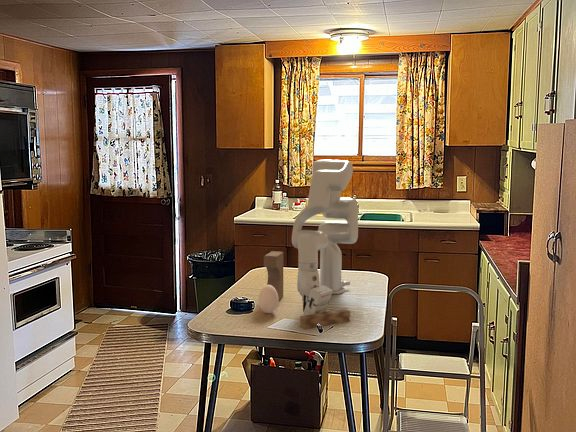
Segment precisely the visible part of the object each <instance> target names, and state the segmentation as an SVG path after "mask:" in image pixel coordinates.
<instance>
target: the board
mask: <svg viewBox="0 0 576 432" xmlns="http://www.w3.org/2000/svg"><path fill="white" fill-rule="evenodd" d="M299 319H300V320H299V321H300V325H299V327H300V328H302V329H303V330H307V329H308V330H309V329H313V328H318V327H317V324H318V323H319V324H320V325H322V326H321V327H325V326H330V325H335V324H340V323H346V322H350V321H351V311H350V310H349V309H347V308H340V309H335V310H331V311H330V310H329V311H326V312H323V313H317V314H311V315H305V316H304V315H301V316H300V318H299Z"/></svg>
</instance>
